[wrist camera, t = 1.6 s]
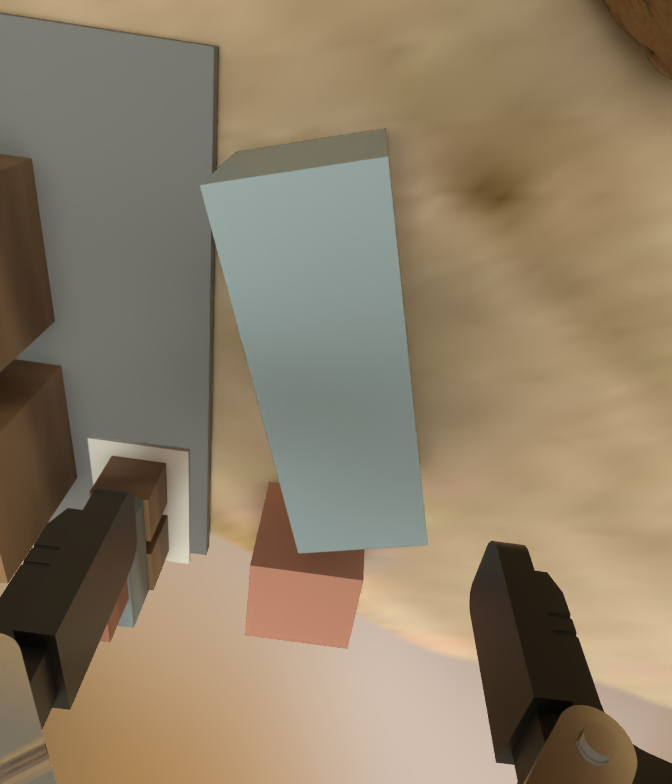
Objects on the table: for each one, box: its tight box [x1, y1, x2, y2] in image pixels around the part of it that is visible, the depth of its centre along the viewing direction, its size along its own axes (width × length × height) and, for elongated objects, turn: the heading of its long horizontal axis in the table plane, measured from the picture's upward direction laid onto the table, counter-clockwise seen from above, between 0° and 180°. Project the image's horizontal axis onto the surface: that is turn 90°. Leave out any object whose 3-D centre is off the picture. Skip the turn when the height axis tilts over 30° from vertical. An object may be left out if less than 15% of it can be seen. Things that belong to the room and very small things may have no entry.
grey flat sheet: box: [0, 13, 219, 555], centre depth 23 cm, size 16×22×1 cm
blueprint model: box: [87, 435, 190, 642], centre depth 25 cm, size 4×7×7 cm, turn 173°
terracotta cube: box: [245, 482, 364, 649], centre depth 26 cm, size 4×4×5 cm
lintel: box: [200, 128, 427, 553], centre depth 21 cm, size 5×14×5 cm, turn 9°
